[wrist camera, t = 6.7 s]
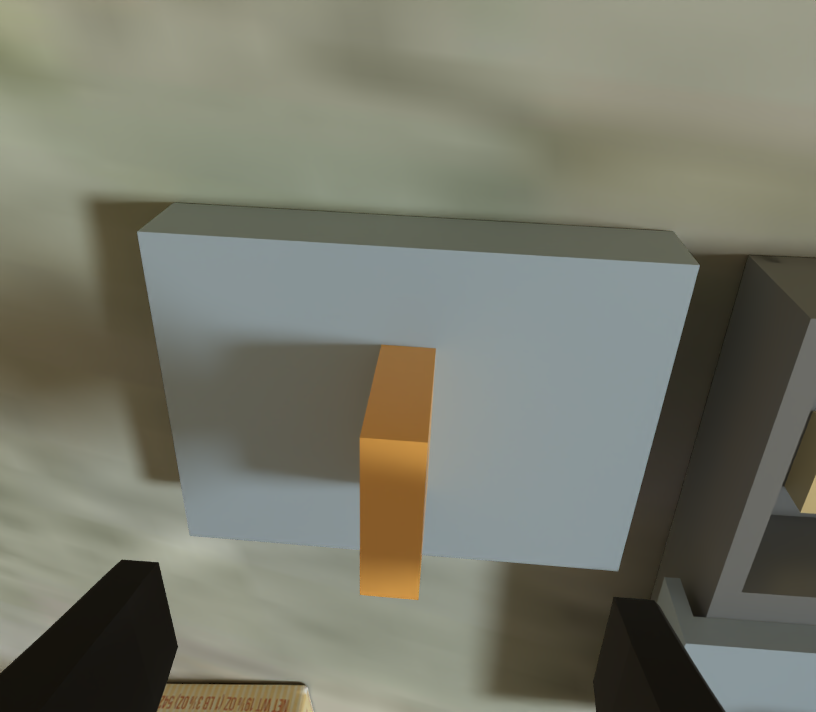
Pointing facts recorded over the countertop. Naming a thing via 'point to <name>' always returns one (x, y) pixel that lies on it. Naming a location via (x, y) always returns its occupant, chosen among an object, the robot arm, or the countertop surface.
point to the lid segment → (746, 657)
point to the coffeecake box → (235, 698)
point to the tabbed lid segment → (413, 381)
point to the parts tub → (755, 460)
